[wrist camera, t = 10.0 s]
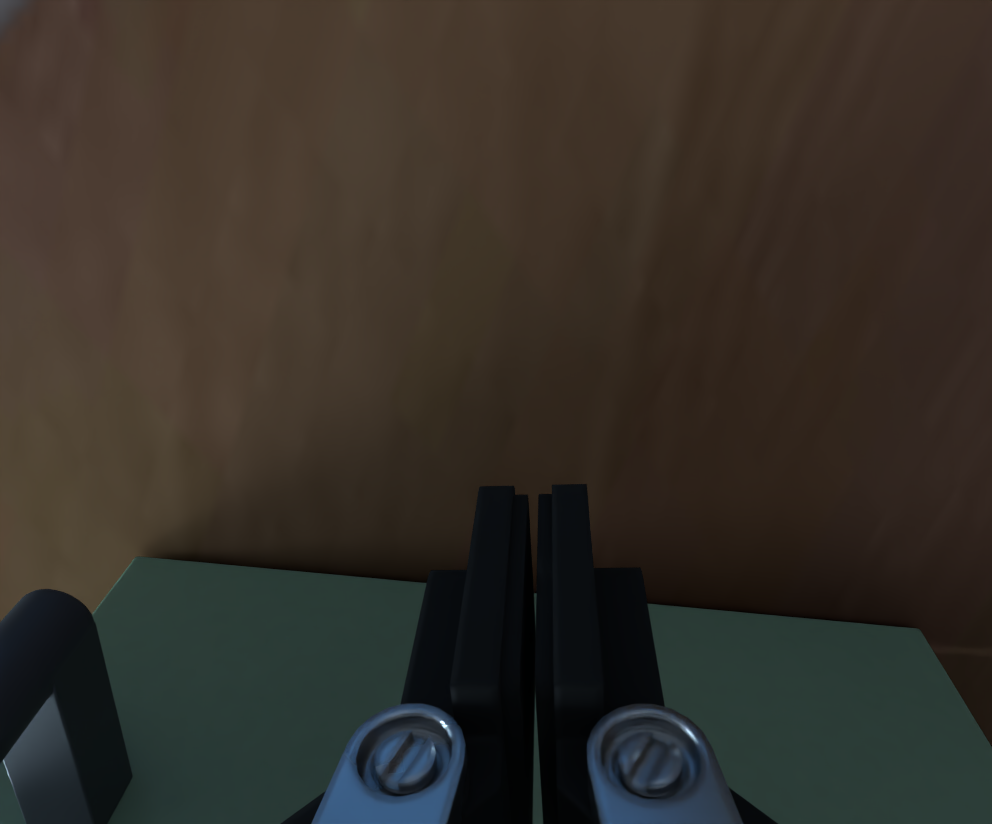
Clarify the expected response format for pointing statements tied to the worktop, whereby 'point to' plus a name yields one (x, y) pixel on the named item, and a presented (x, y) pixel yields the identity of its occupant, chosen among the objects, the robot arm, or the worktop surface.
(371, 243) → the worktop surface
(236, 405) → the worktop surface
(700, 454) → the worktop surface
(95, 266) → the worktop surface
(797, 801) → the cupboard door
